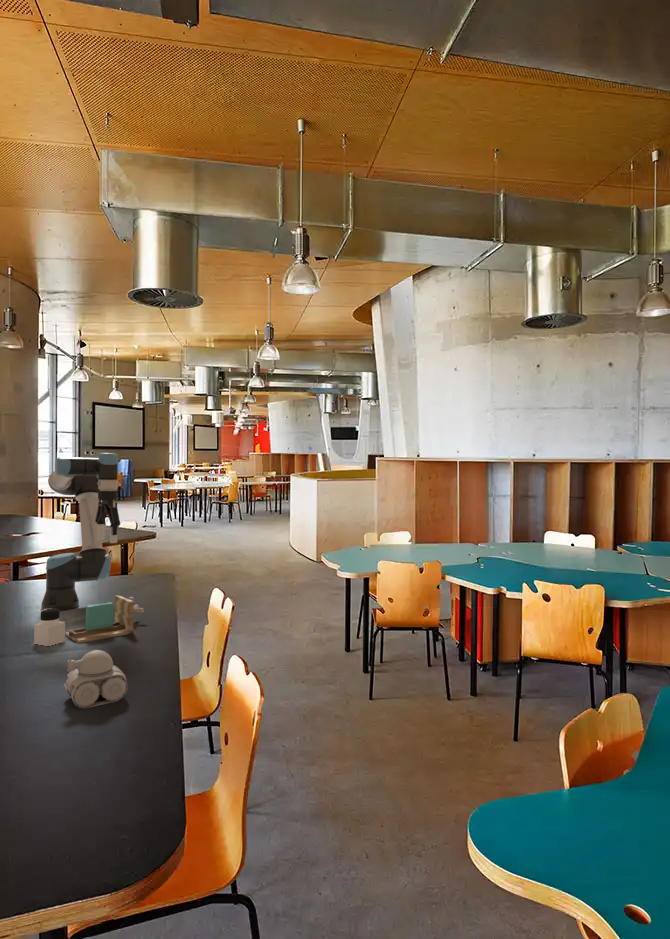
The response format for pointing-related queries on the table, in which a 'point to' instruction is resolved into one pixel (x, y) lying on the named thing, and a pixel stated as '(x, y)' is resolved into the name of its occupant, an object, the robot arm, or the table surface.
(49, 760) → the table surface
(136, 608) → the pipe connector
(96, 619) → the teal rectangular block
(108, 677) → the toy tank
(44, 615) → the medicine bottle
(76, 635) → the wooden slatted rack
